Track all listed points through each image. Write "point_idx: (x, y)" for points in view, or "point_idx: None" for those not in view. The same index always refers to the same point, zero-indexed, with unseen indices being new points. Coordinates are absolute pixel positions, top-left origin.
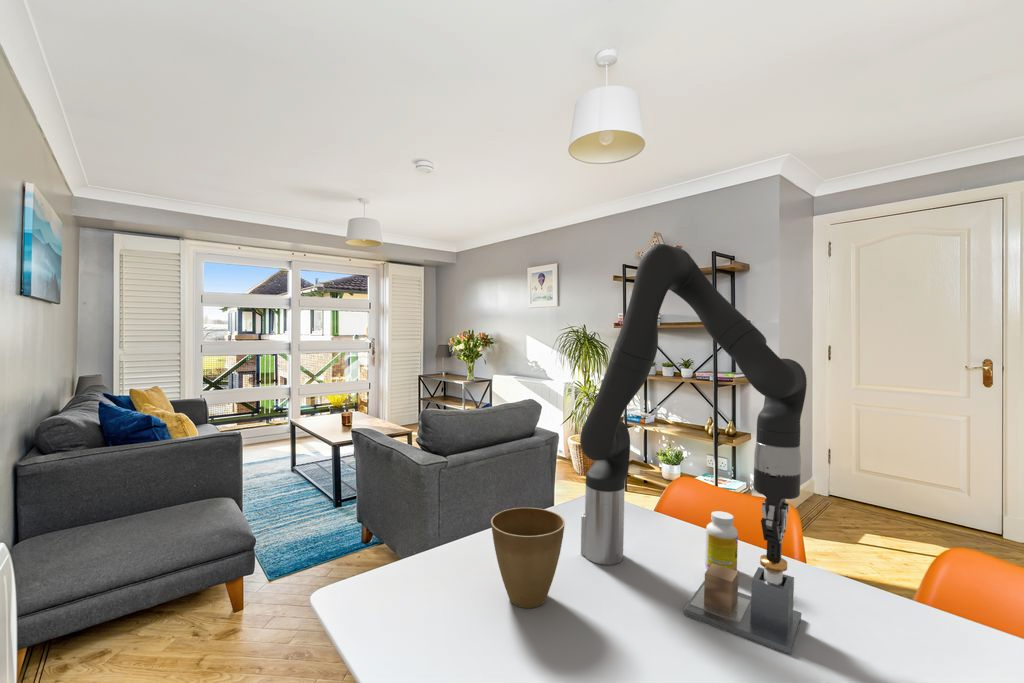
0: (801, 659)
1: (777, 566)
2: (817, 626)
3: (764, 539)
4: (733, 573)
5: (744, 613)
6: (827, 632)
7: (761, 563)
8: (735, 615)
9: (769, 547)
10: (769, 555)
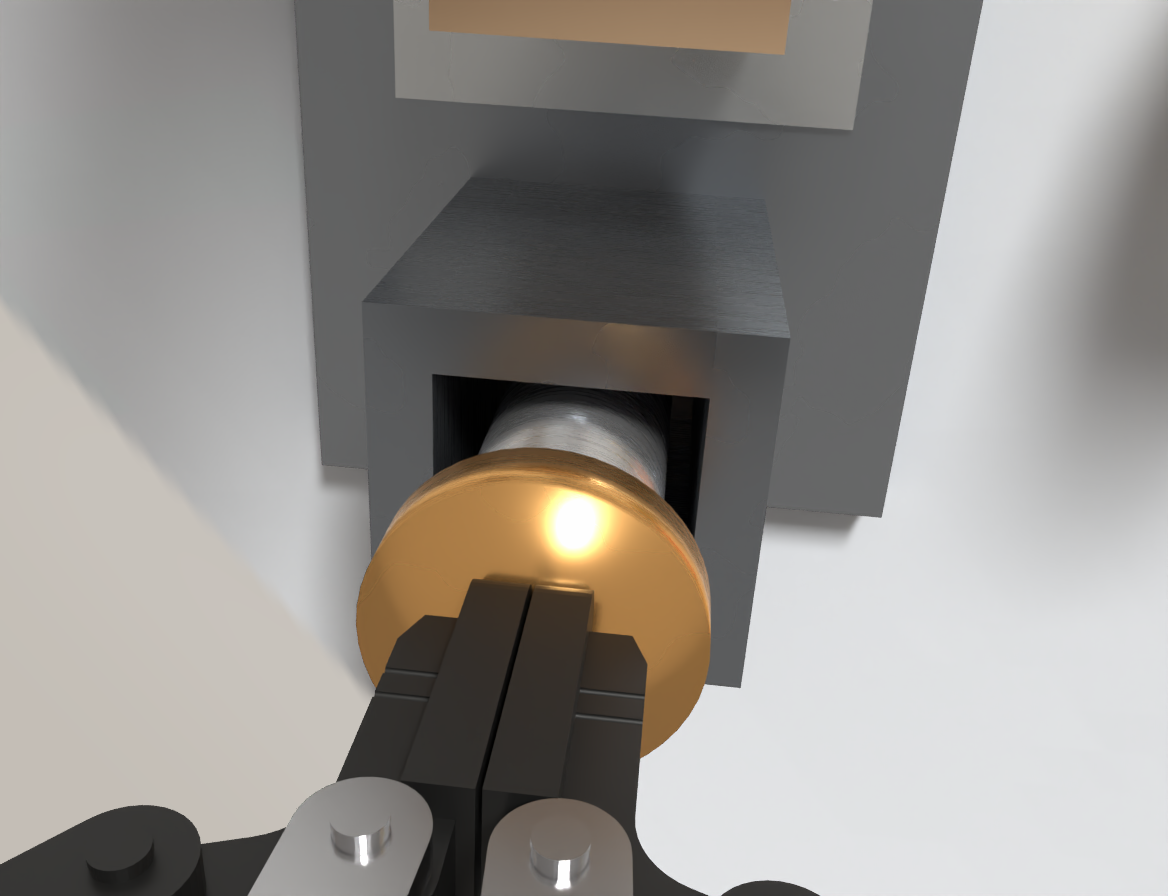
0: (340, 498)
1: (377, 682)
2: (826, 584)
3: (84, 827)
4: (681, 2)
5: (584, 110)
6: (781, 635)
7: (435, 481)
8: (483, 43)
9: (358, 746)
10: (393, 660)
